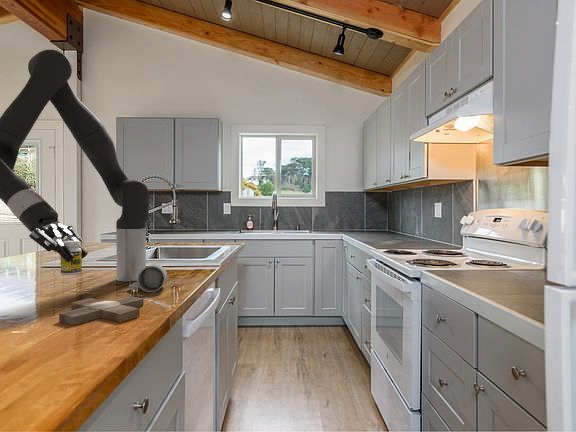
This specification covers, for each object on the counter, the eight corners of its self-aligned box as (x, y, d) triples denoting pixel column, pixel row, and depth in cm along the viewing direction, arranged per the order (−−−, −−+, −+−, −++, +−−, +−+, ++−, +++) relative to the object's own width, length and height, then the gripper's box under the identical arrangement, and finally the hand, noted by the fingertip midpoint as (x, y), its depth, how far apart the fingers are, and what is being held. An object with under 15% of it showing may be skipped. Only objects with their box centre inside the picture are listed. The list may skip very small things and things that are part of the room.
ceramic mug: (168, 285, 118) (167, 261, 117) (165, 291, 110) (164, 265, 109) (132, 287, 115) (131, 262, 115) (126, 293, 107) (125, 267, 107)
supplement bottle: (72, 276, 94) (71, 242, 93) (56, 275, 95) (55, 242, 94) (86, 272, 99) (85, 240, 98) (70, 271, 100) (70, 239, 99)
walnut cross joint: (42, 317, 84) (42, 308, 84) (114, 299, 100) (114, 292, 100) (91, 331, 76) (91, 321, 76) (161, 309, 91) (161, 301, 91)
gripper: (20, 200, 89) (69, 251, 89) (61, 200, 104) (104, 244, 103) (0, 222, 90) (49, 273, 90) (43, 219, 104) (85, 263, 104)
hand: (78, 257), depth 96 cm, fingers closed on supplement bottle, 4 cm apart
